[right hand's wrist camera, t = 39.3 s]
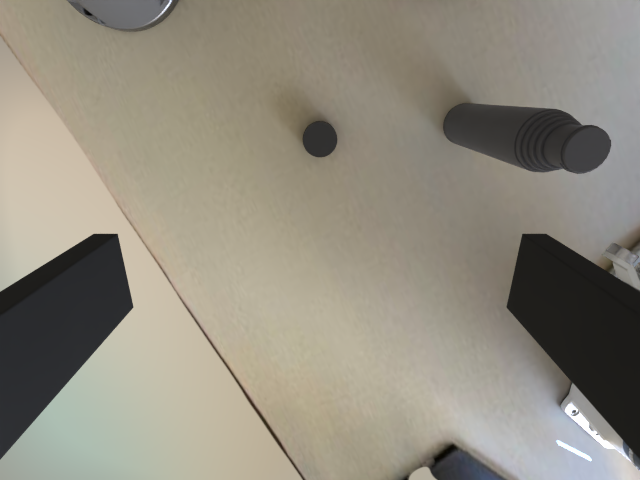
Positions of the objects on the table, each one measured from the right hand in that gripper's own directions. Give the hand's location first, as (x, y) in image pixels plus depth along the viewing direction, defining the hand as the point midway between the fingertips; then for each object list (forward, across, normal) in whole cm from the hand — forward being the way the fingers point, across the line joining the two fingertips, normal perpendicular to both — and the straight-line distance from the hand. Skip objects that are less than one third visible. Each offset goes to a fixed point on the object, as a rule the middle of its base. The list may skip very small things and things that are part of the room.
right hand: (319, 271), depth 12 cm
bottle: (+41, +19, +2) cm, 45 cm away
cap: (+39, 0, 0) cm, 39 cm away
